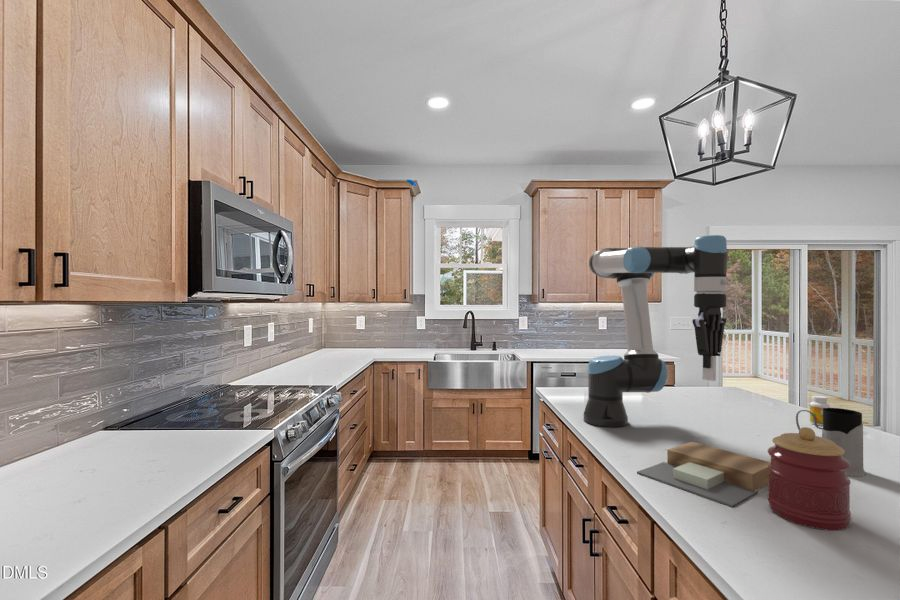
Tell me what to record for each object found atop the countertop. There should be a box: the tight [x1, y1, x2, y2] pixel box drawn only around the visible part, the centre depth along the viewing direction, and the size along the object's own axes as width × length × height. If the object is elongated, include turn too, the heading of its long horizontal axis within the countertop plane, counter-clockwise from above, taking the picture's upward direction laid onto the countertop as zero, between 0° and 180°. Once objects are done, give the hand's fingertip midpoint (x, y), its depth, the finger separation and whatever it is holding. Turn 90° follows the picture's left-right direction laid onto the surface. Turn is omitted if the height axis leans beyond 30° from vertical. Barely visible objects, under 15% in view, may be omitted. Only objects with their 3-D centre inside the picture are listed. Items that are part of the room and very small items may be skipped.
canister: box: [767, 426, 852, 531], centre depth 88 cm, size 13×13×18 cm
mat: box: [636, 461, 759, 508], centre depth 104 cm, size 22×12×1 cm, turn 33°
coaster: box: [673, 462, 724, 489], centre depth 105 cm, size 8×8×2 cm
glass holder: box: [795, 407, 867, 478], centre depth 115 cm, size 9×14×15 cm, turn 32°
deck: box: [666, 441, 771, 491], centre depth 111 cm, size 20×12×4 cm, turn 33°
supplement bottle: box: [809, 395, 831, 427], centre depth 154 cm, size 5×5×10 cm
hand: (709, 379), depth 119 cm, fingers closed
